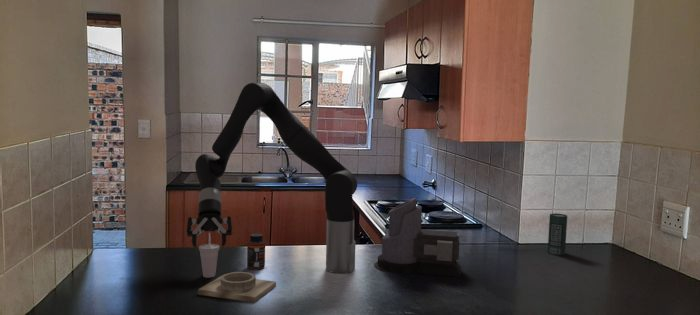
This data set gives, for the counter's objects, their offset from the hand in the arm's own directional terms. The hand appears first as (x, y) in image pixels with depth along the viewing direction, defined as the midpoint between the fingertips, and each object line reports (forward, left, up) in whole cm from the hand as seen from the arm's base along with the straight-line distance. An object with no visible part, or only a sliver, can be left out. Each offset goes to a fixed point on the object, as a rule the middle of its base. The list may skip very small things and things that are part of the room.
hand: (209, 246), depth 170 cm
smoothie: (-1, +1, -9) cm, 10 cm away
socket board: (-16, +10, -9) cm, 21 cm away
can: (-111, -70, -9) cm, 131 cm away
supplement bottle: (-11, -12, -10) cm, 19 cm away
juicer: (-62, -31, -10) cm, 70 cm away
